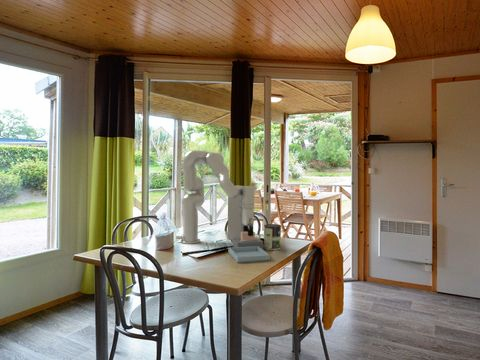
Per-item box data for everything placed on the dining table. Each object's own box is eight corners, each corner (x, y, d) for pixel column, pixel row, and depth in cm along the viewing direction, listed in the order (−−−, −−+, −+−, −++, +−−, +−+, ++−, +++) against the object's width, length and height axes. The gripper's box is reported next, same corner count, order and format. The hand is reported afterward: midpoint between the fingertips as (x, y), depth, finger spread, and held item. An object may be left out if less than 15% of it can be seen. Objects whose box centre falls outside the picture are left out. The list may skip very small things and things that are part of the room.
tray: (237, 262, 175) (237, 257, 175) (228, 252, 194) (228, 247, 194) (269, 260, 180) (269, 255, 180) (257, 251, 199) (258, 246, 199)
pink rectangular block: (242, 249, 203) (242, 232, 203) (240, 247, 206) (240, 231, 205) (254, 248, 205) (254, 232, 205) (253, 247, 208) (253, 231, 208)
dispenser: (237, 251, 198) (237, 241, 197) (232, 246, 209) (232, 237, 209) (263, 249, 202) (263, 240, 202) (256, 245, 213) (257, 236, 213)
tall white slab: (227, 239, 228) (228, 195, 227) (230, 237, 234) (230, 194, 232) (247, 241, 224) (248, 196, 223) (249, 239, 230) (250, 195, 228)
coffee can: (281, 246, 211) (281, 224, 210) (279, 250, 201) (280, 227, 200) (265, 245, 213) (265, 223, 212) (262, 249, 203) (263, 226, 202)
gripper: (238, 204, 212) (238, 231, 212) (246, 208, 195) (246, 237, 196) (249, 204, 214) (249, 231, 214) (258, 208, 197) (258, 236, 198)
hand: (248, 234), depth 205 cm, fingers open, 9 cm apart
